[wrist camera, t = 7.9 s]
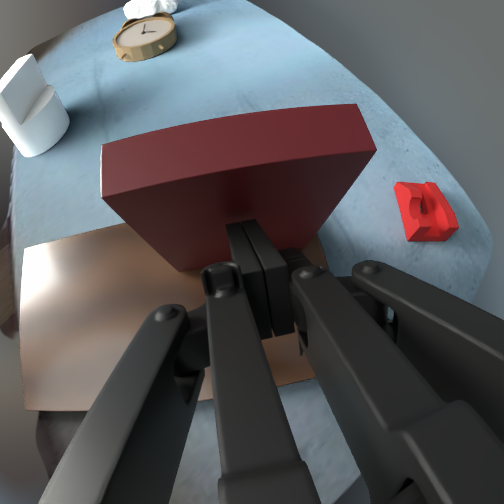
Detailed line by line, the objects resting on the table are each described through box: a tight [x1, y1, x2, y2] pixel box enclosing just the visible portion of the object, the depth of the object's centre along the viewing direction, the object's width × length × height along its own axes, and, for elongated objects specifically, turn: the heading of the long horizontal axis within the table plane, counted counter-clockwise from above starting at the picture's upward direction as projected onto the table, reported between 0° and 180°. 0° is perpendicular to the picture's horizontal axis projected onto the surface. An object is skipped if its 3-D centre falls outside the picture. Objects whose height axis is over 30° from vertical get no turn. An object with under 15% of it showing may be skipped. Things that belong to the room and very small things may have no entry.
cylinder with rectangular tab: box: [0, 54, 70, 157], centre depth 31 cm, size 9×9×12 cm
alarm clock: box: [113, 12, 177, 62], centre depth 44 cm, size 11×5×15 cm
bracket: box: [394, 182, 459, 241], centre depth 29 cm, size 6×5×3 cm
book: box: [101, 104, 377, 272], centre depth 19 cm, size 2×11×16 cm, turn 102°
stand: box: [20, 223, 329, 411], centre depth 26 cm, size 17×30×1 cm, turn 102°
